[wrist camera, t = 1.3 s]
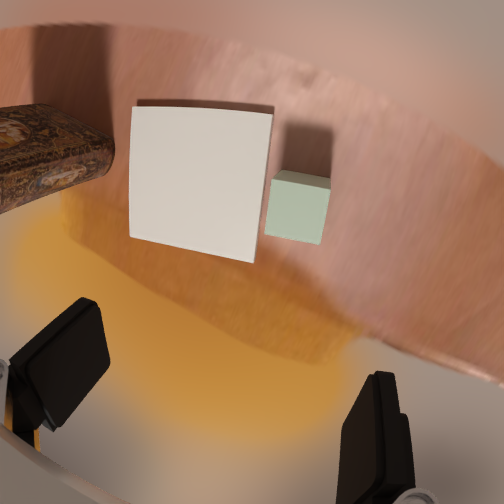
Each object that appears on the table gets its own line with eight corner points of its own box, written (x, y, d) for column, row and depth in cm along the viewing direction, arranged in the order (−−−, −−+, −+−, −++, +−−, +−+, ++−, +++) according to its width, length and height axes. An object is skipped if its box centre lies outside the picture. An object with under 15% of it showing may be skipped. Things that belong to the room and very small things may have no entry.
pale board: (274, 114, 30) (272, 114, 29) (255, 259, 36) (253, 263, 35) (137, 106, 32) (132, 106, 31) (134, 233, 39) (129, 236, 38)
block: (330, 178, 31) (330, 189, 25) (321, 224, 33) (319, 245, 27) (282, 169, 32) (271, 178, 26) (275, 215, 34) (264, 234, 28)
